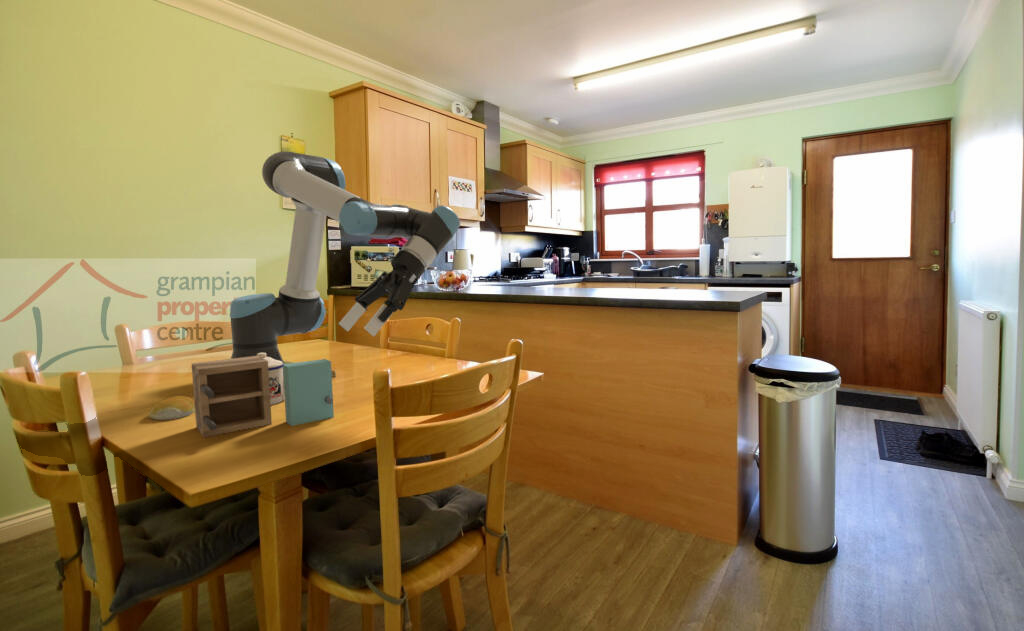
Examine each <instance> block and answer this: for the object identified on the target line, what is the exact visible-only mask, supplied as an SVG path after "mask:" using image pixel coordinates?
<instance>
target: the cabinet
mask: <svg viewBox="0 0 1024 631" xmlns="http://www.w3.org/2000/svg"><path fill="white" fill-rule="evenodd" d="M191 374H192V390H193V398H194V399H193V400H194V402H195V411H194V413H195V425H196V426H195V427H196V429H197V430H198V432H199V433H200V435H201V436H202V437H203V438H208V437H214V436H218V434H220V435H223V434H222V433H225V434H229V433H228V432H230V433H233V432H232V431H235V432H238V431H237V430H240V431H243V430H242V429H245V430H248V428H250V429H254V428H253V427H255V428H259V427H258V426H260V427H263V426H269V425H272V423H273V422H272V410H271V409H272V408H271V407H272V405H271V404H270V388H269V372H268V361H267V360H265V359H263V358H261V357H259V356H250V357H242V358H233V359H231V358H227V359H225V358H224V359H219V360H207V361H200V362H192V363H191Z"/></svg>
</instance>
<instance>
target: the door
mask: <svg viewBox="0 0 1024 631" xmlns="http://www.w3.org/2000/svg"><path fill="white" fill-rule="evenodd" d="M332 372H333V371H332V361H331V360H328V359H326V358H322V359H316V360H307V361H299V362H291V363H290V362H289V363H284V364H283V382H284V409H285V410H284V412H285V422H286V423H287V424H288V425H290V426H291V427H294V426H299V425H302V424H308V423H312V422H317V421H323V420H327V419H333V418H334V416H335V415H334V414H335V413H334V412H335V411H334V394H333V376H332V375H333V373H332Z"/></svg>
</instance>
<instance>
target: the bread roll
mask: <svg viewBox="0 0 1024 631" xmlns="http://www.w3.org/2000/svg"><path fill="white" fill-rule="evenodd" d="M193 413H195V402H194V399H192V398H191V397H189V396H185V395H175V396H172V397H168V398H166V399H163V400H161V401H159V402H158V403H157V402H156V404H155V405H153V406H152V407H151V408H150V410H149V414H148V415H149V417H150V419H152V420H155V421H167V420H168V421H170V420H177V419H182V418H184V417H189V416H190V415H192V414H193Z"/></svg>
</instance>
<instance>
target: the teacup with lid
mask: <svg viewBox="0 0 1024 631" xmlns="http://www.w3.org/2000/svg"><path fill="white" fill-rule="evenodd" d="M257 356H259V357H261V358H263V359H265V360H267V361H268V372H269V388H270V404H271V406H273V405H277V404H280V403H281V402H283V401H285V395H284V379H283V363H282V361H279V360H275V359H273V358H271V357H266V353H258V354H257Z"/></svg>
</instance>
